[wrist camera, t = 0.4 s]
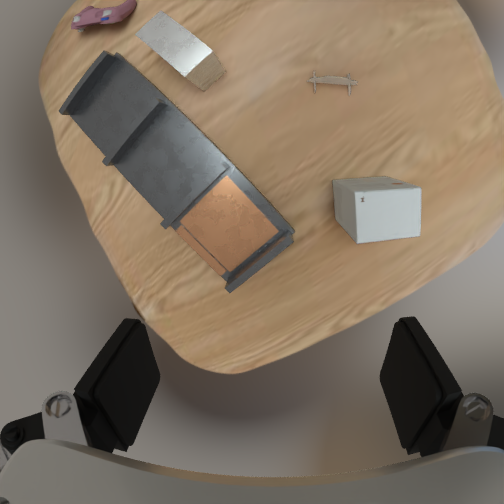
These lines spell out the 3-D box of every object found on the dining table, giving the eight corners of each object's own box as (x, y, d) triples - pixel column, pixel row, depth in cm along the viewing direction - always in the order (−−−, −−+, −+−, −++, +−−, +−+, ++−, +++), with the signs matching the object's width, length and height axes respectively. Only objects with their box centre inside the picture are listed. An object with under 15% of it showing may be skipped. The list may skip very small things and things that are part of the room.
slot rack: (119, 54, 30) (106, 47, 27) (294, 229, 39) (296, 239, 35) (72, 114, 34) (56, 113, 30) (231, 282, 42) (227, 295, 38)
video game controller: (89, 28, 30) (62, 36, 25) (90, 6, 26) (63, 10, 21) (137, 22, 30) (112, 27, 25) (140, -2, 26) (115, -2, 22)
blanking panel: (183, 35, 29) (160, 10, 21) (226, 71, 31) (213, 50, 23) (162, 54, 31) (134, 34, 22) (204, 91, 33) (184, 76, 24)
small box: (334, 219, 38) (354, 245, 28) (331, 178, 36) (352, 191, 26) (387, 214, 37) (421, 238, 27) (386, 175, 35) (422, 187, 25)
